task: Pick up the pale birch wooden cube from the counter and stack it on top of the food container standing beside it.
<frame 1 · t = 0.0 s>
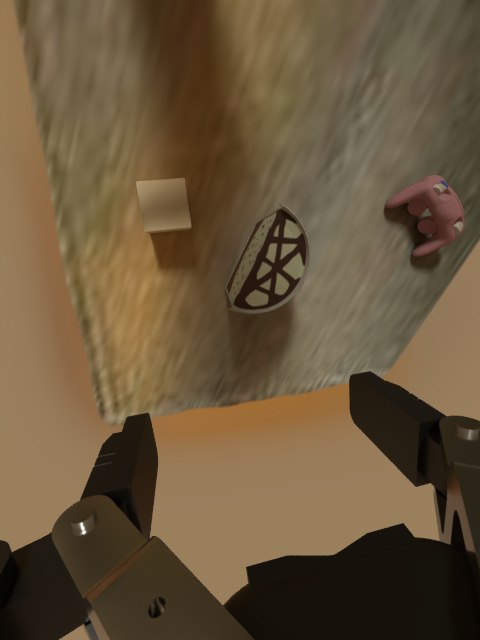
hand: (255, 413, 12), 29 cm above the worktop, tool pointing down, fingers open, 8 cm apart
food container: (259, 265, 40), on the worktop
pink toy figure: (411, 219, 43), on the worktop
birch cube: (167, 210, 36), on the worktop
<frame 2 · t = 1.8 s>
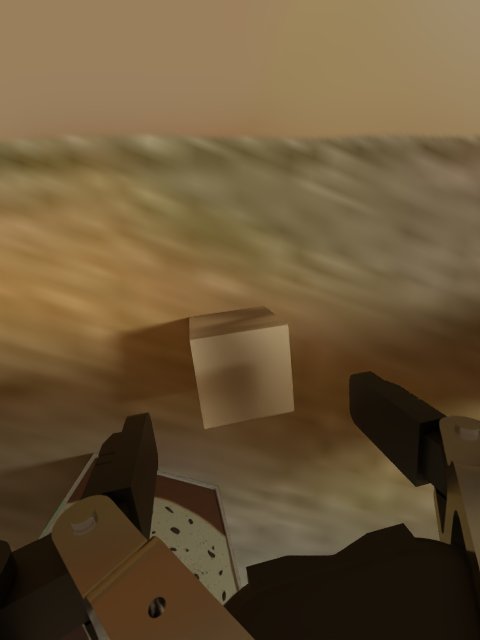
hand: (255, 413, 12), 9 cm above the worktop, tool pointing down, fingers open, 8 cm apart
food container: (143, 502, 22), on the worktop
birch cube: (231, 346, 20), on the worktop
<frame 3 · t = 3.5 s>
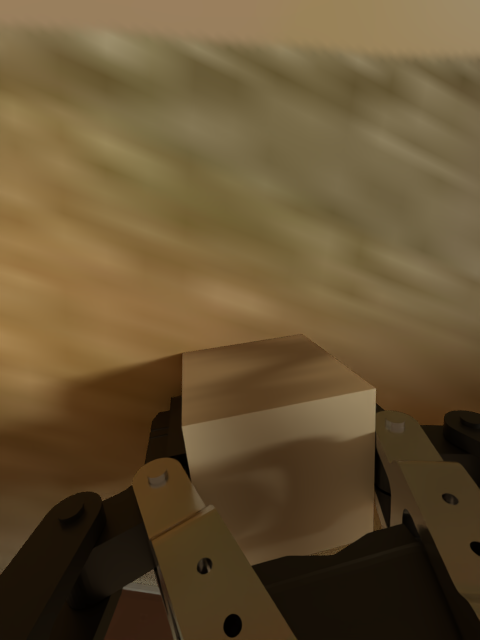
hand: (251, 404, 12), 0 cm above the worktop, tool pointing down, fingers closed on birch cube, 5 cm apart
food container: (111, 626, 15), on the worktop
birch cube: (249, 398, 13), on the worktop, touching gripper
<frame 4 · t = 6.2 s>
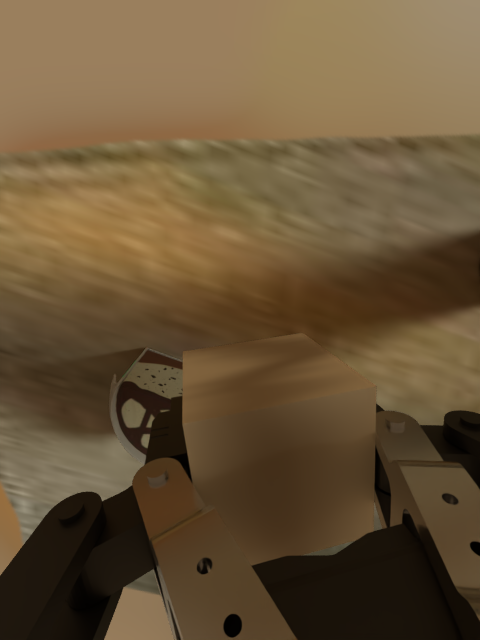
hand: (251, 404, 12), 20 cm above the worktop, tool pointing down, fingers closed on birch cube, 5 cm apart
food container: (177, 385, 33), on the worktop
birch cube: (250, 396, 13), point 19 cm above the worktop, touching gripper
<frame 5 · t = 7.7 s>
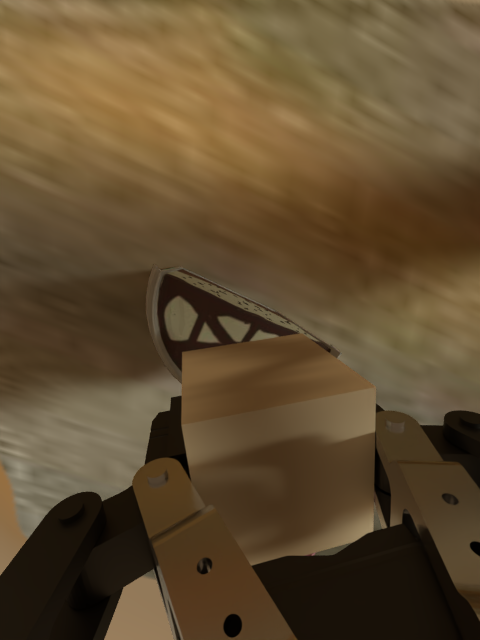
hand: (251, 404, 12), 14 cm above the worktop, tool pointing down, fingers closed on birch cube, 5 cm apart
food container: (216, 321, 26), on the worktop
birch cube: (249, 397, 13), point 14 cm above the worktop, touching gripper
when the fingers open (12 cm above the worktop, at t = 9.0 s): birch cube drops 1 cm, resting on food container.
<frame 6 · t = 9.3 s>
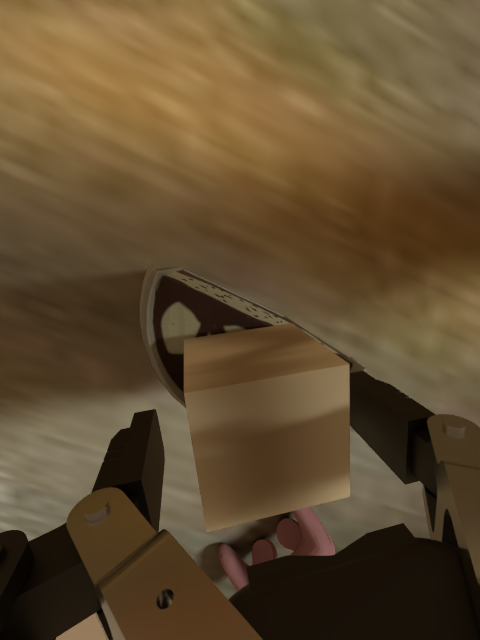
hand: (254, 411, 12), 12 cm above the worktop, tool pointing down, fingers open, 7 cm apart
food container: (218, 327, 24), on the worktop, touching birch cube
pink toy figure: (268, 526, 30), on the worktop
birch cube: (244, 381, 14), point 10 cm above the worktop, touching food container
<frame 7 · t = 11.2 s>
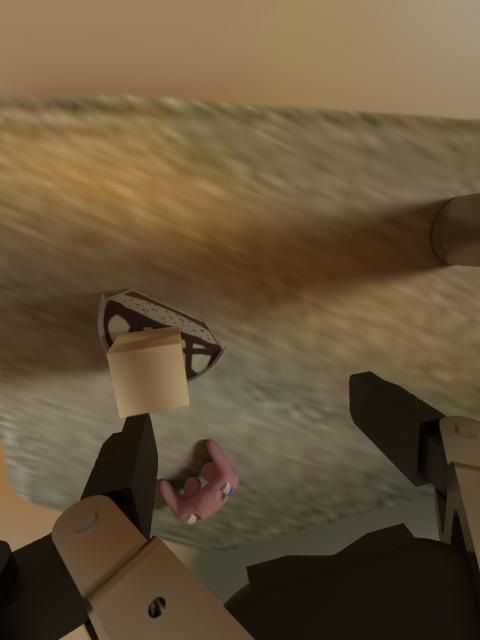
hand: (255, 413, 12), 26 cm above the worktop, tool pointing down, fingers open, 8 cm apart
food container: (159, 328, 36), on the worktop, touching birch cube
pink toy figure: (197, 468, 42), on the worktop
birch cube: (154, 356, 26), point 10 cm above the worktop, touching food container
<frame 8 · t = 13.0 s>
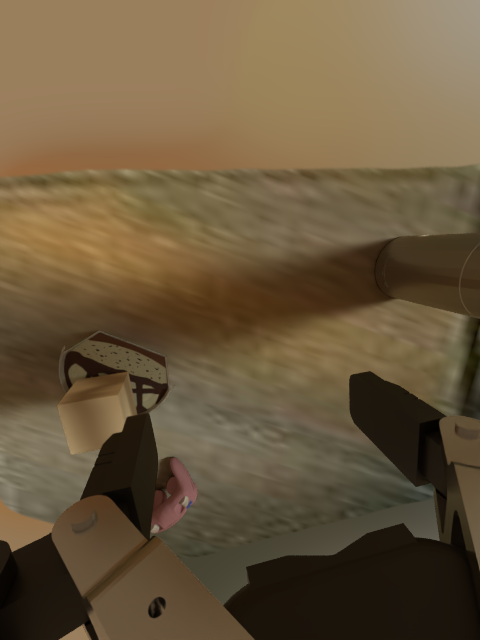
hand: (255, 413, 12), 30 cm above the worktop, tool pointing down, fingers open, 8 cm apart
food container: (125, 362, 41), on the worktop, touching birch cube
pink toy figure: (164, 482, 46), on the worktop
birch cube: (108, 397, 31), point 10 cm above the worktop, touching food container
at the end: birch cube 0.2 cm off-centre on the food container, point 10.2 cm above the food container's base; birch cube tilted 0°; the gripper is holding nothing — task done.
